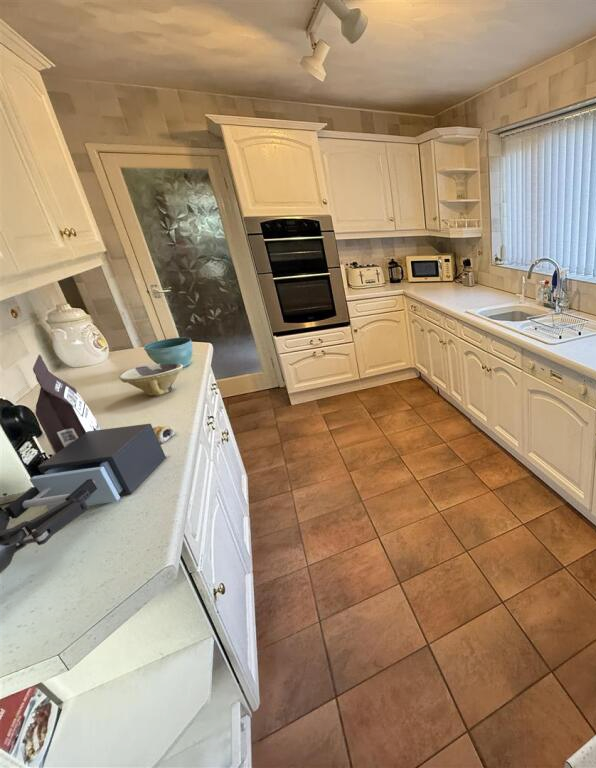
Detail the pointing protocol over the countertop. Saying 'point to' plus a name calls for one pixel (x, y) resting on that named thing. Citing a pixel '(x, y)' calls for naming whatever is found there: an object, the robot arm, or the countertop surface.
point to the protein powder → (61, 409)
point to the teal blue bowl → (171, 351)
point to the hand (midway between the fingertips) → (65, 488)
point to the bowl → (153, 377)
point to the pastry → (163, 433)
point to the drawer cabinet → (114, 453)
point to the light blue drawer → (75, 484)
